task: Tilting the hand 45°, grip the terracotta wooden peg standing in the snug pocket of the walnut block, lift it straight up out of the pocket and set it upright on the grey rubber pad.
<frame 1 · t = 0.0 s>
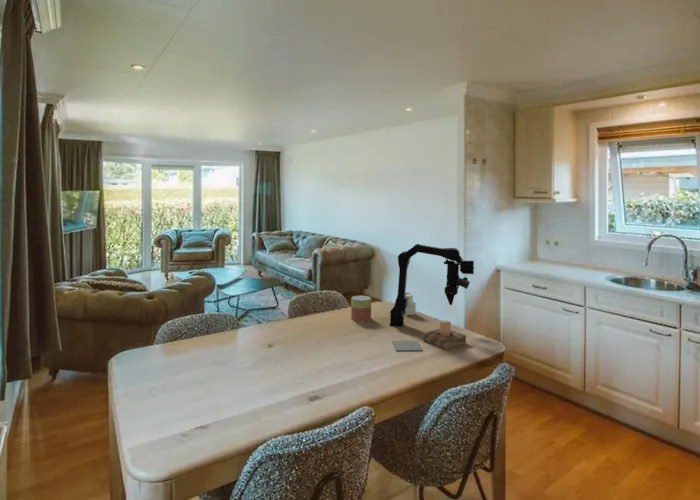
hand: (451, 302, 217), 15 cm above the table, tool pointing down, fingers open, 9 cm apart
peg: (444, 332, 201), in the pocket block
pad: (407, 346, 196), on the table
medicine bottle: (407, 314, 248), on the table
pocket block: (444, 342, 202), on the table
canned food: (361, 319, 238), on the table
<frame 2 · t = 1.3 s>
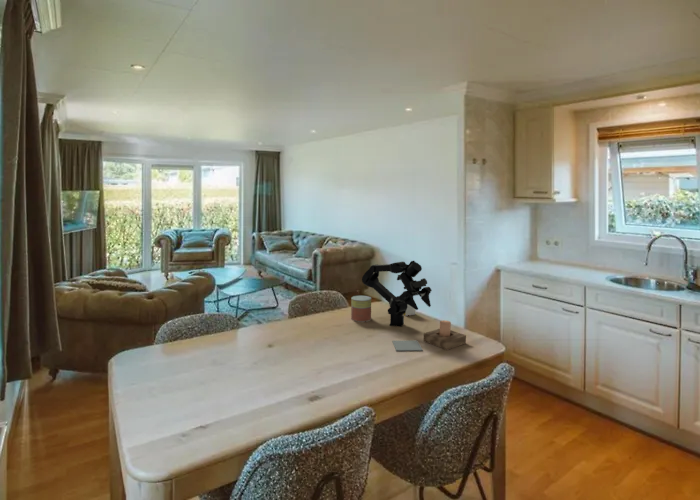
hand: (423, 308, 211), 13 cm above the table, tool tilted 45°, fingers open, 9 cm apart
nothing on the table moved.
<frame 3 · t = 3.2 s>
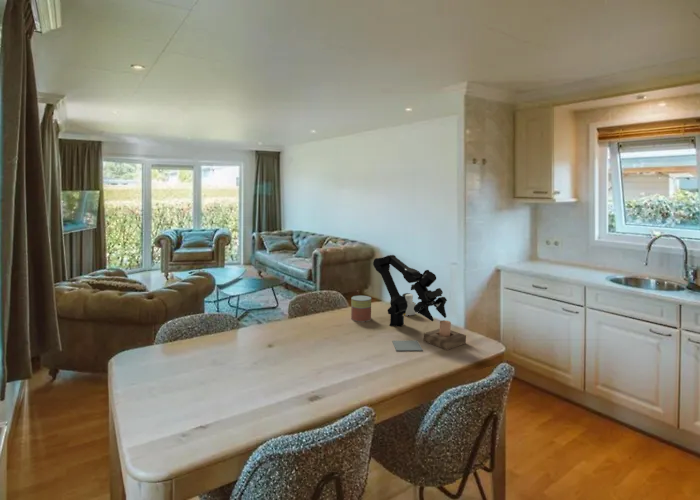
hand: (439, 319, 203), 11 cm above the table, tool tilted 45°, fingers open, 9 cm apart
nothing on the table moved.
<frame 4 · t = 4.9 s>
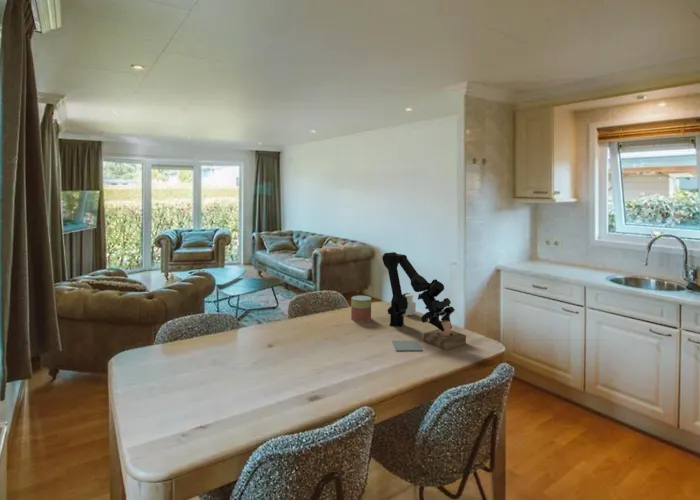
hand: (447, 329, 200), 7 cm above the table, tool tilted 45°, fingers closed on peg, 5 cm apart
peg: (444, 332, 201), in the pocket block, touching gripper
everything else where it was.
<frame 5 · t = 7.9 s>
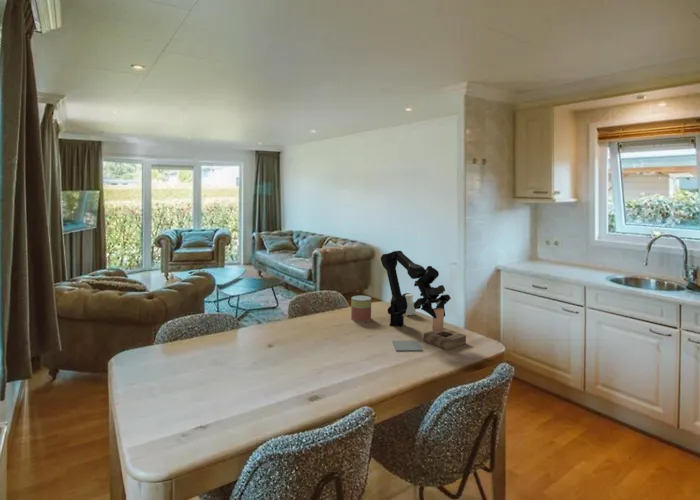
hand: (440, 317, 196), 13 cm above the table, tool tilted 45°, fingers closed on peg, 5 cm apart
peg: (438, 319, 198), point 12 cm above the table, touching gripper
everything else where it was.
when the fingers open (8 cm above the table, at t = 10.7 s): peg drops 1 cm, resting on pad.
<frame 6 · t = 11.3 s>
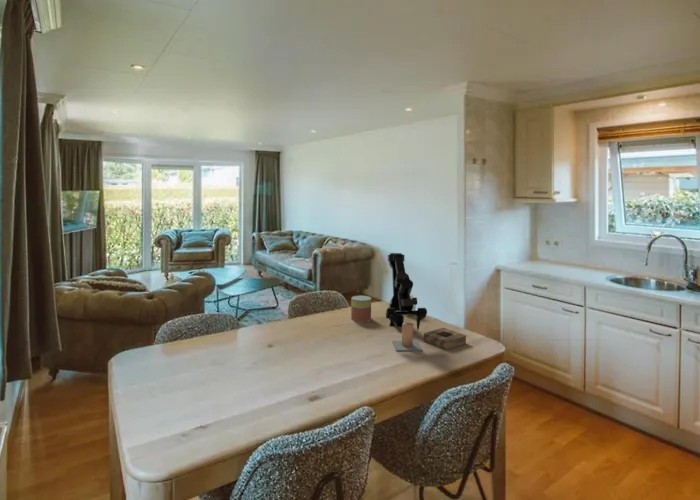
hand: (408, 329, 193), 9 cm above the table, tool tilted 45°, fingers open, 9 cm apart
peg: (407, 334, 195), on the pad, point 6 cm above the table
everything else where it was.
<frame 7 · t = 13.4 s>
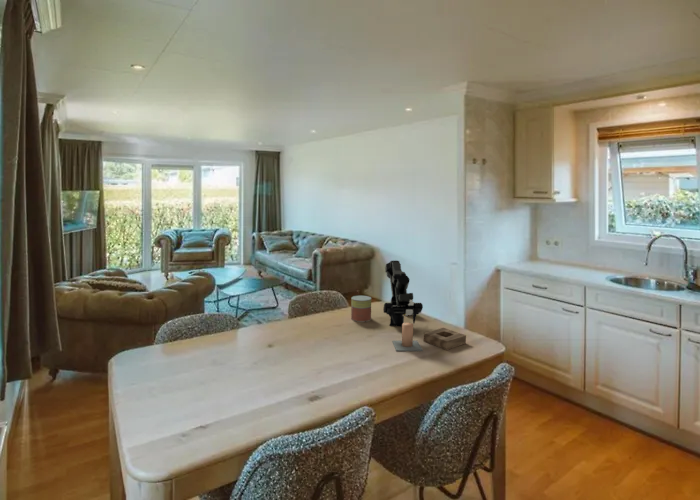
hand: (404, 323, 203), 8 cm above the table, tool tilted 45°, fingers open, 9 cm apart
nothing on the table moved.
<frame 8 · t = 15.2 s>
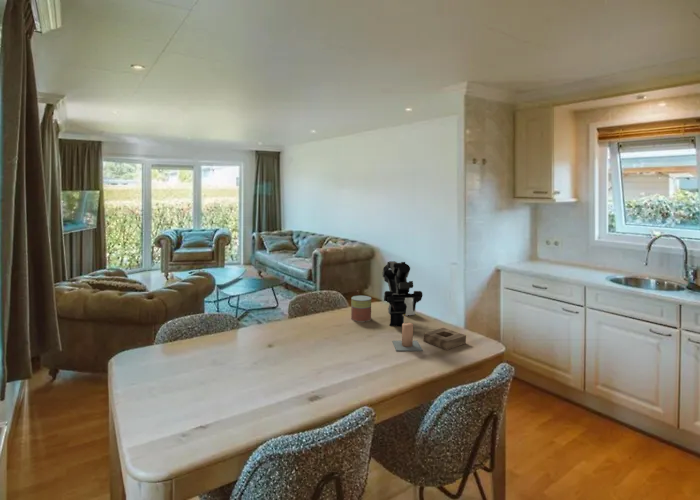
hand: (404, 311, 205), 14 cm above the table, tool tilted 45°, fingers open, 9 cm apart
nothing on the table moved.
at the end: peg inside the target area on the pad (0.0 cm from its centre), point 5.6 cm above the pad's base; peg tilted 0°; the gripper is holding nothing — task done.
